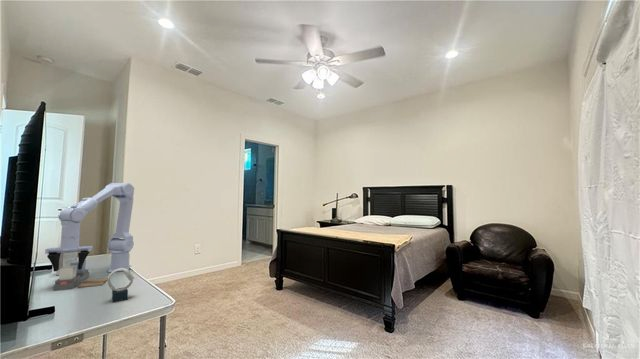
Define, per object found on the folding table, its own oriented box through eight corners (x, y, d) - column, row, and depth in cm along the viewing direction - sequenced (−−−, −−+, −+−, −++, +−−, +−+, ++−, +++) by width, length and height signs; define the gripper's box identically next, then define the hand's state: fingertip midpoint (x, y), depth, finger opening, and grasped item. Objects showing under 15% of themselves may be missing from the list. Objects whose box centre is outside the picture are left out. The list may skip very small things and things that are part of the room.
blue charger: (73, 274, 120) (74, 260, 120) (85, 273, 122) (85, 259, 122) (69, 276, 116) (70, 262, 117) (81, 275, 118) (82, 261, 118)
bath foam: (59, 272, 128) (62, 231, 129) (78, 271, 131) (80, 230, 132) (53, 276, 122) (56, 233, 123) (73, 274, 125) (76, 232, 126)
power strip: (78, 273, 127) (78, 266, 127) (93, 272, 129) (94, 265, 129) (52, 290, 105) (53, 281, 105) (72, 288, 107) (73, 280, 108)
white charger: (63, 280, 111) (64, 266, 111) (75, 279, 113) (76, 265, 113) (58, 283, 107) (59, 268, 108) (71, 282, 109) (72, 267, 109)
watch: (133, 298, 99) (135, 268, 100) (106, 303, 94) (108, 272, 94) (132, 293, 103) (133, 265, 104) (105, 299, 98) (107, 268, 99)
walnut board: (86, 281, 117) (86, 279, 117) (108, 279, 120) (108, 277, 120) (77, 287, 109) (77, 286, 109) (102, 285, 112) (102, 284, 112)
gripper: (42, 239, 104) (39, 274, 104) (88, 237, 110) (86, 270, 110) (51, 236, 111) (48, 269, 110) (94, 235, 117) (92, 266, 116)
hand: (68, 269), depth 110 cm, fingers open, 7 cm apart
